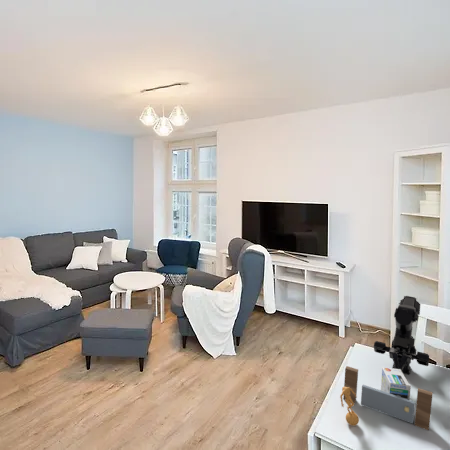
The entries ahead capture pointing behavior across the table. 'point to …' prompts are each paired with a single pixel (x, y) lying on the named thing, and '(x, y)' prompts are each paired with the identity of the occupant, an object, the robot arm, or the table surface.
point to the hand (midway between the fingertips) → (397, 375)
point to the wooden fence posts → (421, 407)
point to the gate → (388, 403)
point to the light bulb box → (395, 383)
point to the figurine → (350, 416)
